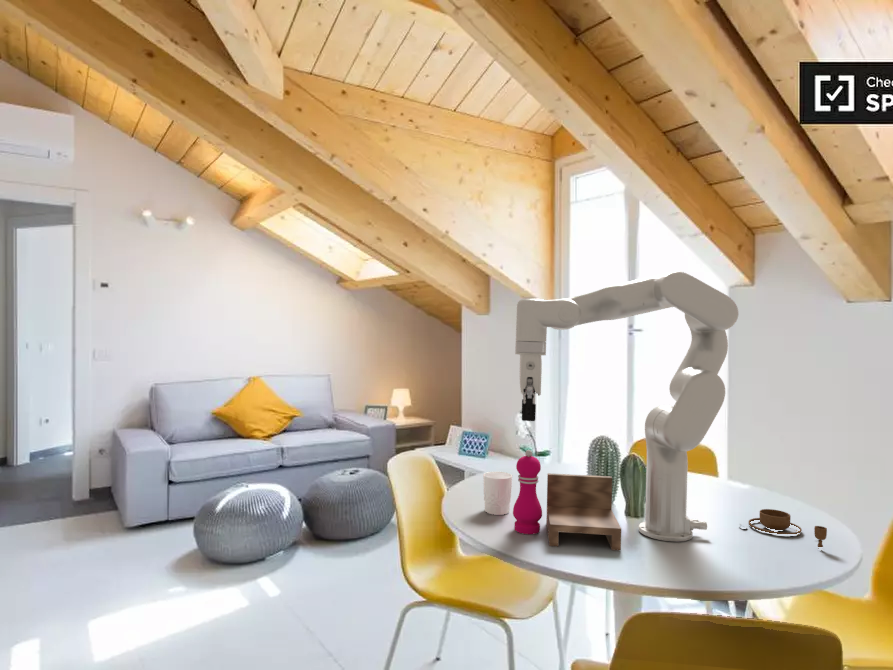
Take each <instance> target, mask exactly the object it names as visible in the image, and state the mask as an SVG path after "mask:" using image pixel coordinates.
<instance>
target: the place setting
mask: <svg viewBox="0 0 893 670" xmlns="http://www.w3.org/2000/svg"><path fill="white" fill-rule="evenodd" d="M754 520H760V522H761V523H760V524H761V526H763V527H765V528H762V527H758V526H755V524H753V525H752V524H751V523H750V522H751V521H754ZM790 524H791V525H794V526H796V527H798V528H799V529H800V531H798V532H796V531H795V532H784V531H786V530H787V529H788V528H789V526H790ZM749 525H750V526H751V527H754V528H755V529H758V530H761V531H765V532H769V533H777V534H797V533H800V532H801V531H803V530H802V528H801V526H799V525H797V524H795V523H792V522H791V514H790V513H788V512H786V511H782V510H778V509H772V508H770V509H769V508H764V509H760V510H759V517H755V518H751V519H749V520H748V526H749ZM750 526H749V527H750ZM751 527H750V528H751ZM766 527H767V528H770V529H775V530H783V532H774V531H770V530H767V529H766ZM789 529H790V528H789ZM813 530H814V533H813V534H814V537H815V539H816V540H817V541H818V543H817V547H824V545H823V541H824V540H826V539H827V535H828V529H827V527H825V526H822V525H815V526H814V529H813ZM801 533H802V532H801Z"/></svg>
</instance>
